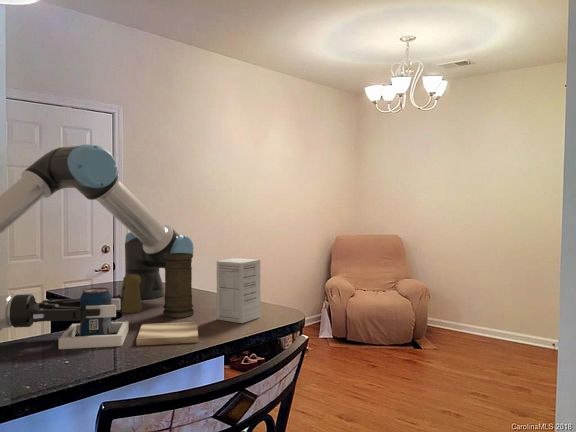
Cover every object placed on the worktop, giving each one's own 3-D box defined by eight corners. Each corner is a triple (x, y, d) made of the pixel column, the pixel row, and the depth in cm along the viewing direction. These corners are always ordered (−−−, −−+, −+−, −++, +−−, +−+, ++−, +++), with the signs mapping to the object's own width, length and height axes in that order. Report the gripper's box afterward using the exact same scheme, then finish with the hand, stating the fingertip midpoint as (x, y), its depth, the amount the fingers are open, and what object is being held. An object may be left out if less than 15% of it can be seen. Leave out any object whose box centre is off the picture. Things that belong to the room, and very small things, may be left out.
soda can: (83, 336, 117) (83, 287, 116) (113, 334, 118) (113, 286, 118) (77, 344, 110) (77, 292, 110) (109, 342, 111) (109, 291, 111)
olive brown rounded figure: (134, 313, 142) (134, 276, 141) (117, 311, 144) (117, 275, 143) (146, 309, 147) (146, 273, 147) (130, 307, 149) (130, 272, 149)
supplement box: (261, 317, 138) (262, 259, 137) (242, 324, 130) (243, 262, 129) (235, 313, 143) (235, 257, 142) (215, 319, 135) (215, 260, 134)
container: (186, 318, 135) (186, 255, 135) (157, 317, 137) (157, 254, 137) (198, 312, 144) (198, 252, 144) (171, 310, 146) (171, 252, 145)
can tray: (72, 333, 119) (72, 323, 119) (128, 330, 122) (128, 321, 122) (58, 349, 106) (58, 338, 106) (121, 346, 109) (121, 335, 109)
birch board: (141, 329, 123) (141, 324, 123) (196, 327, 126) (196, 321, 126) (136, 345, 109) (136, 339, 109) (198, 342, 112) (198, 336, 112)
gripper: (27, 317, 120) (123, 313, 125) (-3, 339, 101) (111, 333, 105) (27, 287, 120) (123, 285, 125) (-3, 303, 100) (111, 300, 105)
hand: (117, 307), depth 115 cm, fingers closed on soda can, 7 cm apart
